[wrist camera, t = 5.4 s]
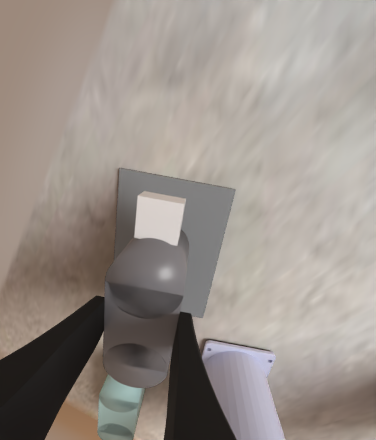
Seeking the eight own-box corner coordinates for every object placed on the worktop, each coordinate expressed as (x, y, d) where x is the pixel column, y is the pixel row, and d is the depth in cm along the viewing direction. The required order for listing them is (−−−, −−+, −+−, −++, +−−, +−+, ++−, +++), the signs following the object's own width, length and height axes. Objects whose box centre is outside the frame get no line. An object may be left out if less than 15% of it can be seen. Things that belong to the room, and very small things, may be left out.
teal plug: (118, 340, 23) (99, 382, 18) (151, 346, 23) (140, 390, 18) (113, 405, 26) (96, 452, 22) (141, 410, 26) (130, 459, 22)
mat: (202, 315, 21) (202, 318, 20) (112, 298, 21) (111, 301, 20) (234, 189, 16) (235, 189, 16) (121, 167, 16) (119, 168, 16)
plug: (173, 331, 16) (163, 392, 12) (127, 322, 16) (102, 381, 12) (200, 195, 12) (199, 217, 8) (139, 183, 12) (106, 200, 8)
